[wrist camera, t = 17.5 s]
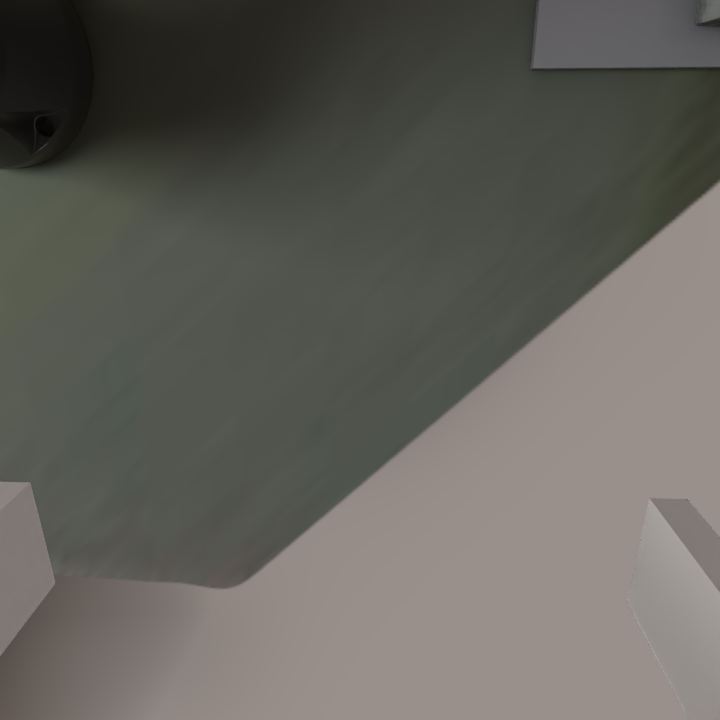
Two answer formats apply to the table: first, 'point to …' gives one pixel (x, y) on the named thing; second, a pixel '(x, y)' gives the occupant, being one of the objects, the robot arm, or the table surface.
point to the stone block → (708, 13)
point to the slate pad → (622, 35)
